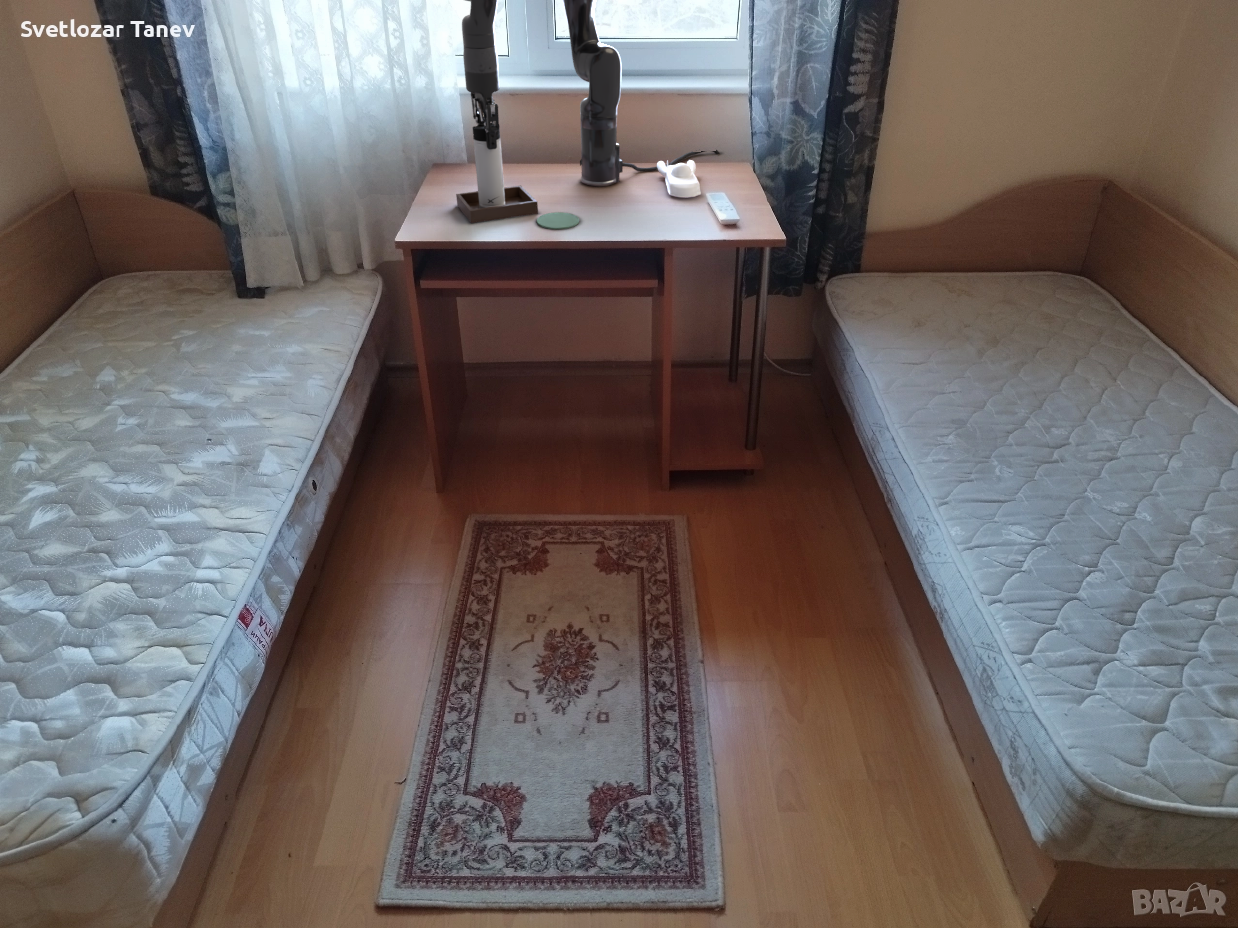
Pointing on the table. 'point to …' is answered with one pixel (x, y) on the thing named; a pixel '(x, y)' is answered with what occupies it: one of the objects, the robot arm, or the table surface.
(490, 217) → the tray
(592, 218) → the table surface
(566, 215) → the coaster
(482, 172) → the travel mug
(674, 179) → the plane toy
